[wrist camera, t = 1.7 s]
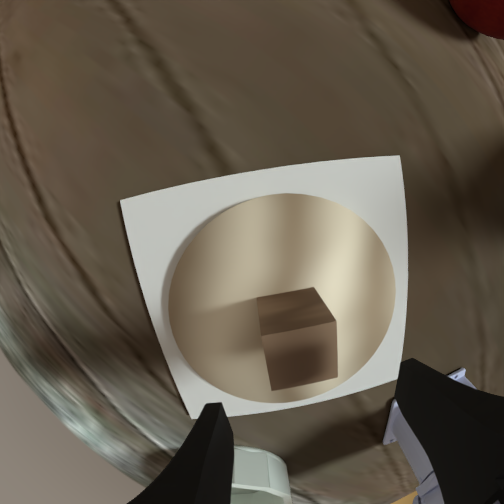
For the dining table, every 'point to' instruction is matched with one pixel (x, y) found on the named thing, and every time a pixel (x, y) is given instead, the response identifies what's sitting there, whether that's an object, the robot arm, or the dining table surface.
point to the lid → (282, 298)
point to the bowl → (259, 477)
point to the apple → (482, 15)
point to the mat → (243, 189)
